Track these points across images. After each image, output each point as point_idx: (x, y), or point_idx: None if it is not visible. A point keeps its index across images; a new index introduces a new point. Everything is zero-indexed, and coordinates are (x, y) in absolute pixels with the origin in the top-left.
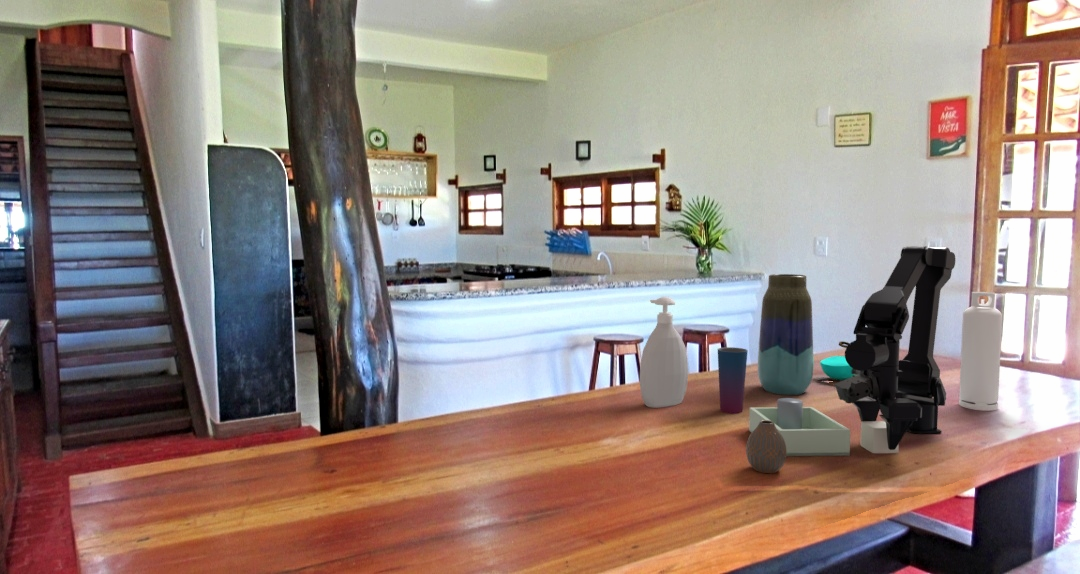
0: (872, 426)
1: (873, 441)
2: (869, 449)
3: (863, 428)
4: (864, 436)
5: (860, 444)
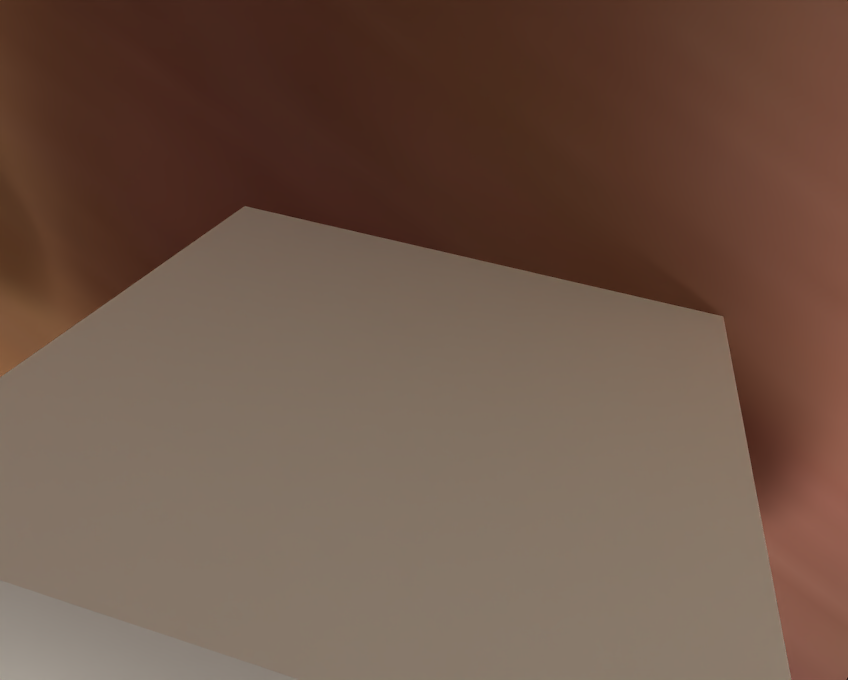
0: (36, 641)
1: (111, 303)
2: (352, 245)
3: (599, 575)
4: (540, 407)
5: (720, 323)
